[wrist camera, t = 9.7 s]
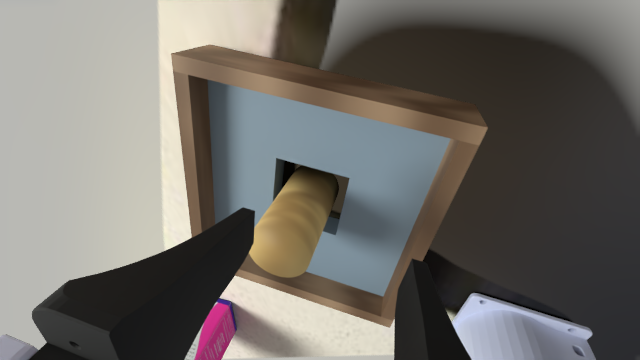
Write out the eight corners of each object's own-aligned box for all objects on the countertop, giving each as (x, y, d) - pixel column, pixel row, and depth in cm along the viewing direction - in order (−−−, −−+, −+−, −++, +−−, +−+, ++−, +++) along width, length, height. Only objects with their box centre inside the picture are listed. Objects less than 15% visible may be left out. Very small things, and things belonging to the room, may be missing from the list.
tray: (475, 104, 19) (487, 127, 15) (392, 289, 28) (389, 327, 25) (209, 44, 21) (171, 53, 18) (218, 233, 31) (194, 261, 28)
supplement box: (199, 319, 41) (134, 416, 31) (190, 290, 38) (115, 388, 28) (238, 330, 40) (183, 434, 30) (232, 301, 37) (168, 407, 27)
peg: (342, 171, 23) (314, 238, 17) (333, 211, 26) (305, 285, 19) (294, 157, 24) (247, 218, 17) (289, 198, 26) (246, 265, 20)
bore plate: (452, 115, 19) (455, 127, 18) (385, 278, 28) (383, 296, 26) (223, 62, 22) (206, 68, 20) (227, 228, 30) (216, 242, 29)
